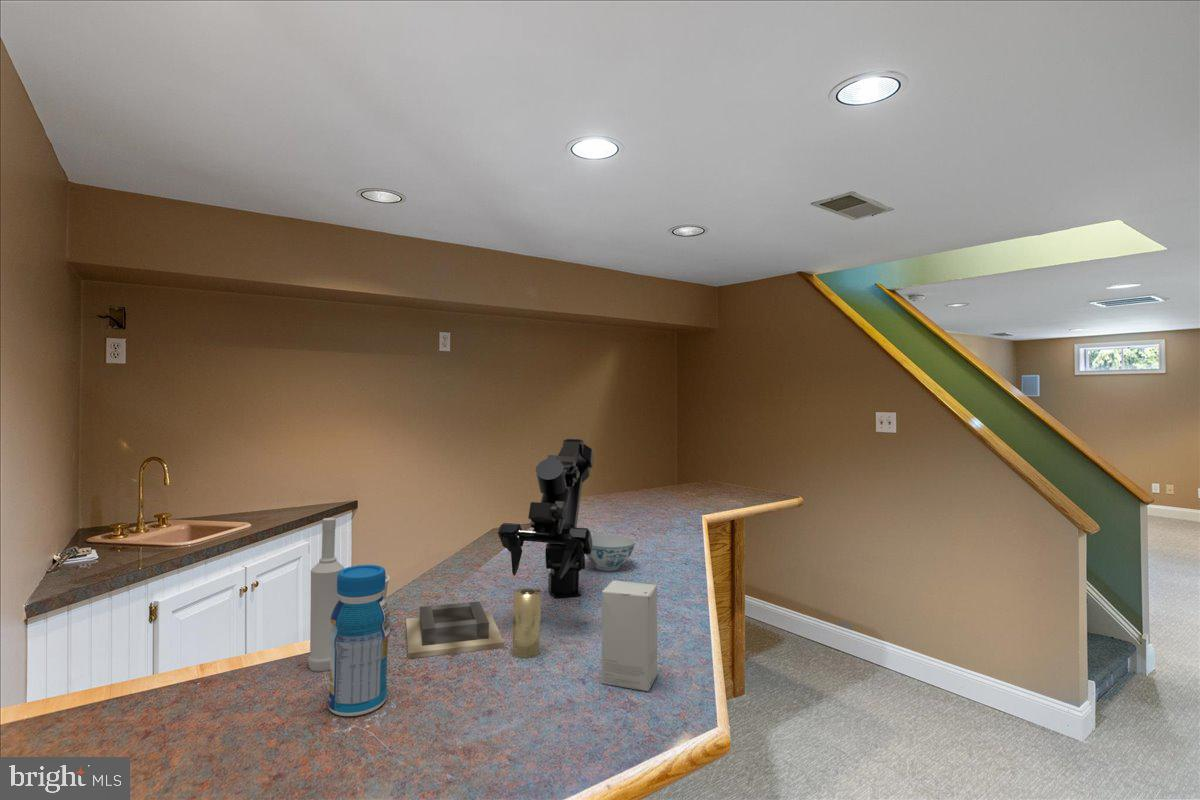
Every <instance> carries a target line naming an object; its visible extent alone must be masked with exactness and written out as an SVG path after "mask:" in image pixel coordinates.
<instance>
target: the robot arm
mask: <svg viewBox="0 0 1200 800" xmlns="http://www.w3.org/2000/svg"><path fill="white" fill-rule="evenodd" d="M593 452H594V451H593V449H592V448H591V447H590V446H588V445H587V444H585V442H584V440H582V439H581V438H566V439H563V442H562V446H561V448H560V450H559V453H558V454H556V455H555V454H554V455H553V454H548V455H547V458H546V459H544V460H541V461H540V462H539V463H538V464H537V465H536V466H535V473H536V478H537V482H538V483H537V484H538V487H539V491H540V493H541V494H542V496H541V498H540V502H535V501H532V502H530V503H529V510H528V517H527V518H528V520H530V525H529V526H530V528H533V530H523V529H522V527H521V524H520V523H509V522H503V523H502V524H501V525H500V526H499V528H498V531H497V536H498V538H499V539H500V542H501V545H502V547H503V548H505V549H507V551H508V552H510V559H511V561H510V562H511V571H512V576H516V575H517V573H518V570H519V567H520V561H521V558H522V554H523V549H522V547H523V546H524V543H525V542H535V543H543V544H544V543H545V544H546V545H545V570H549V569H550V572H549V573H548V576H547V577H548V584H547V586H548V587H547V590H548V591H549V592H550V594H551V595H552V596H553V597H554V598H555V599H557V598H558V599H559V598H561V599H562V598H569V597H579V596H581V595H582V594H581V592H580V591H579V590H580V589H579V587H580V586H579V584H580V583H579V582H580V580H579V579H580V572H581V571H582V570H585V569H586V557H585V556H586V554H590V553H591V551H592V538H591V535H592V533H591V531H590V530H589V528H588V527H585V528H584V527H578V526H577V525H578V517H579V511H580V503H581V495H582V490H583V489H582V488H583V483H584V482H586V481H587V479H588V478H589V477H590V474H591V469H593V467H594V453H593Z"/></svg>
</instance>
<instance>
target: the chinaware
mask: <svg viewBox="0 0 1200 800" xmlns="http://www.w3.org/2000/svg"><path fill="white" fill-rule="evenodd" d="M591 538H592V551H591V553H590V554H585V556H586V557H587V558H588V560H589V561H590V562H591V563H592V564H594V565H595V569H598V571H599V570H600V571H604V572H605V571H606V572H612V571H618V570H619V569H620V568H621V565H623V564H624V563H625V562H627V560H628V559H629V558H630V557H631V556H632V553H633V551H634V549H635V544H636V540H635V539H634V538H632V537H629V536H627V535H621V534H616V533H613V534H611V533H599V534H598V533H597V534H591Z"/></svg>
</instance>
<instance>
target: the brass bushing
mask: <svg viewBox="0 0 1200 800" xmlns="http://www.w3.org/2000/svg"><path fill="white" fill-rule="evenodd" d="M512 611H513V612H512V613H513V615H512V642H511V643H512V644H511V645H512V646H511V647H512V648H511V650H512V651H511V653H512V655H513V656H515V657H516V658H519V659H521V658H522V659H530V658H534V657H536V656H538V655H539V654H540V652H541V651H540V648H541V646H540V645H541V620H542V619H541V616H542V613H541V612H542V591H541V590H540V589H539V588H535V587H520V588H518V589H515V590H514V591H513V610H512Z"/></svg>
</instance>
